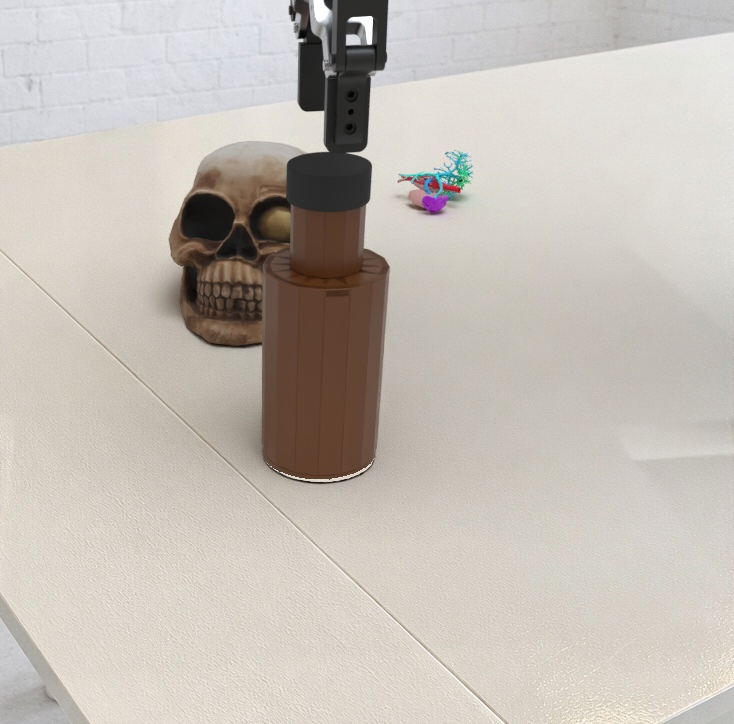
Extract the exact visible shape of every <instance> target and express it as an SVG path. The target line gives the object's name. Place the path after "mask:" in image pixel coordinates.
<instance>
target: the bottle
mask: <svg viewBox="0 0 734 724" xmlns="http://www.w3.org/2000/svg"><path fill="white" fill-rule="evenodd" d="M366 215H367V204H366V205H364V206H363V207H360V208H357V209H353V210H349V211H342V212H318V211H310V210H305V209H301V208H298V207H296V206H293V205H292V204H291V224H290V247H287V248H283V249H281V250H279V251H277V252H275V253H272V254H270V255H269V256H268V257H267V259H266V260H265V262H264V263H263V288H262V343H261V447H262V448H261V449H262V450H261V451H262V453H263V454H262V458H263V457H264V458H263V460H264V459H265V460H264V462H265V461H266V462H267V463H268V464H269V465H270V466H272V468H274V469H276V470H278V471H279V472H283V473H285V474H288V475H291V476H295V477H299V478H305V479H329V480H330V479H332V478H338V477H343V476H347V475H350V474H354V473H356V472H358V471H360V470H362V469H363V468H366V467H367V466H368V465H369V464H371V462H372V461H373V459H374V458H375V459H376V455H375V454H377V453H376V452H377V448H378V440H379V439H378V437H379V425H380V424H379V423H380V409H381V399H382V398H381V396H382V381H383V369H384V368H383V367H384V355H385V342H386V329H387V328H386V326H387V313H388V300H389V286H390V273H391V266H390V265H389V262H388V261H387V260H386V258H385V257H384V256H382V255H380V254H379V253H377V252H375V251H373V250H371V249H370V248H369V249H368V248H365V234H366V233H365V232H366ZM266 462H265V463H266ZM267 463H266V464H267Z"/></svg>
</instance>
